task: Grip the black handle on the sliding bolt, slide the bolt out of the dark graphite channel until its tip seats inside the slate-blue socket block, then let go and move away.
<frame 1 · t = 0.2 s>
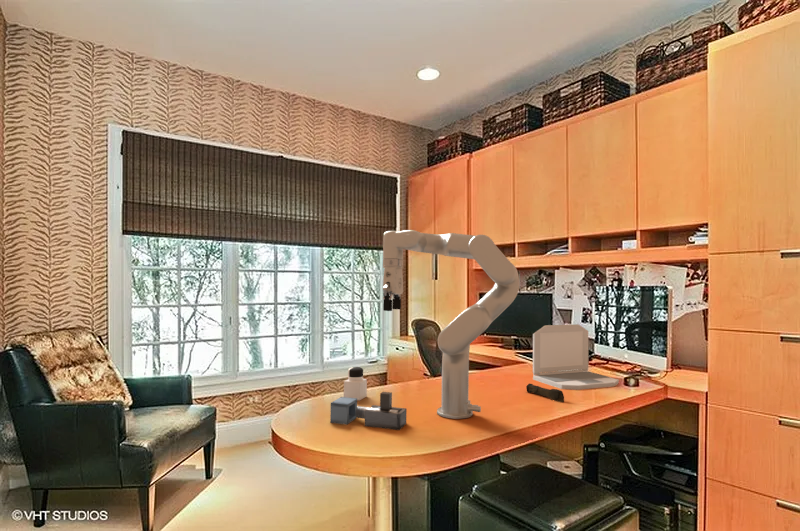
hand: (392, 310, 171), 36 cm above the table, tool pointing down, fingers open, 9 cm apart
laptop: (577, 383, 217), on the table
sliding bolt: (377, 406, 152), point 6 cm above the table, slide at 0.0 cm
sleeve: (385, 424, 151), on the table
socket block: (343, 420, 155), on the table
hand tool: (546, 398, 189), on the table
medicine bottle: (355, 398, 184), on the table
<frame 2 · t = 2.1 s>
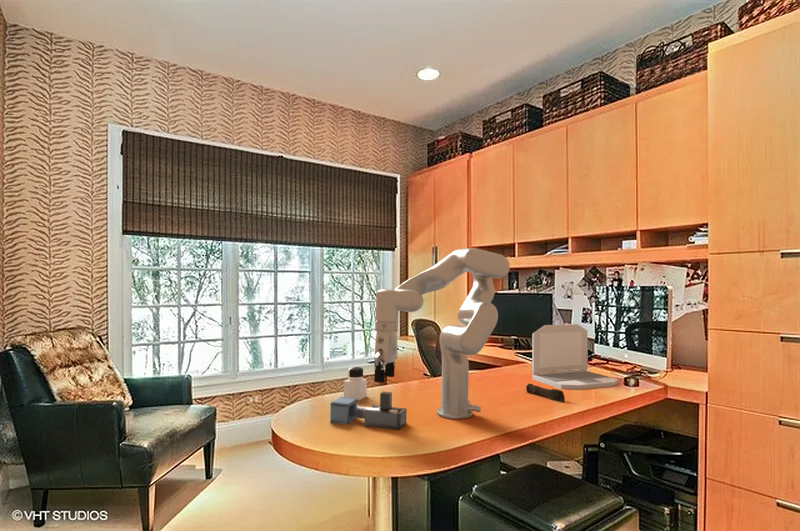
hand: (384, 379, 151), 15 cm above the table, tool pointing down, fingers open, 9 cm apart
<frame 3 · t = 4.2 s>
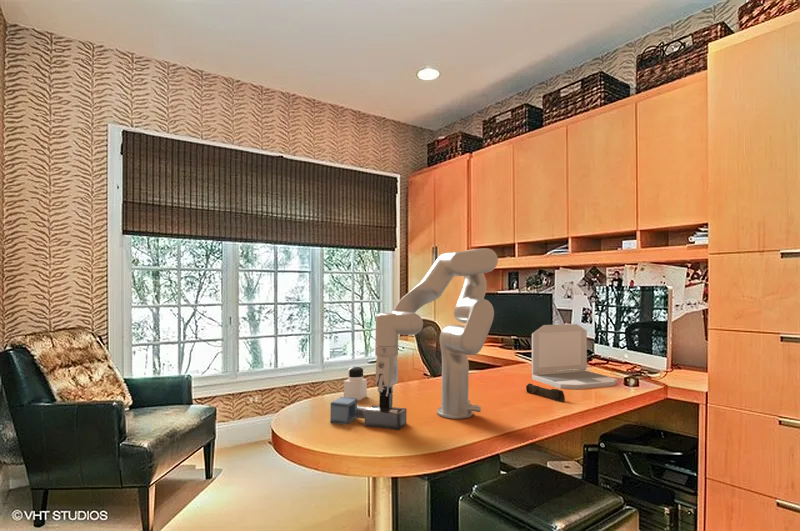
hand: (385, 406, 151), 6 cm above the table, tool pointing down, fingers closed on sliding bolt, 2 cm apart
sliding bolt: (377, 406, 152), point 6 cm above the table, slide at 0.0 cm, touching gripper
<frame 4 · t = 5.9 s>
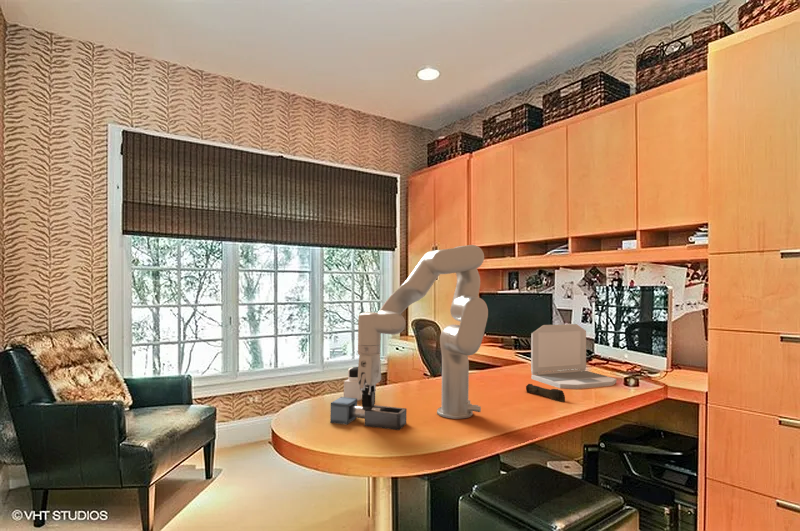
hand: (368, 404, 153), 6 cm above the table, tool pointing down, fingers closed on sliding bolt, 2 cm apart
sliding bolt: (360, 404, 154), point 6 cm above the table, slide at 6.1 cm, touching gripper
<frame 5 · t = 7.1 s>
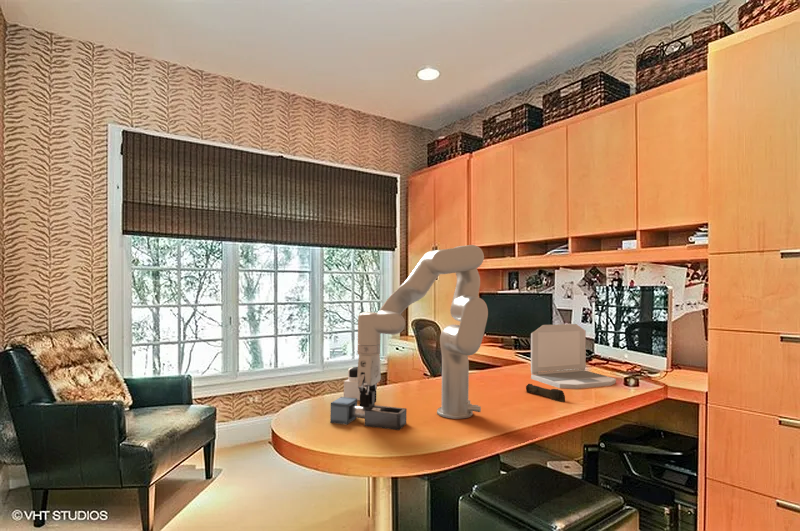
hand: (368, 403, 153), 6 cm above the table, tool pointing down, fingers open, 5 cm apart
sliding bolt: (360, 404, 153), point 6 cm above the table, slide at 6.0 cm
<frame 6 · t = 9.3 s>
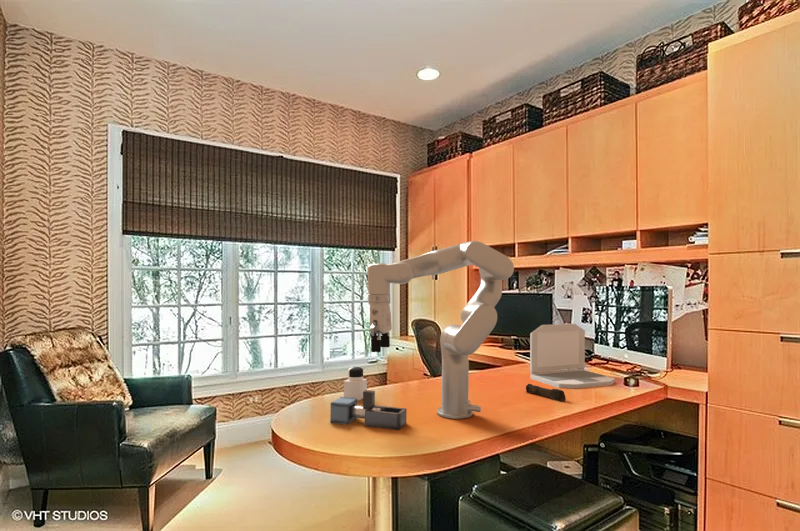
hand: (380, 349, 157), 24 cm above the table, tool pointing down, fingers open, 9 cm apart
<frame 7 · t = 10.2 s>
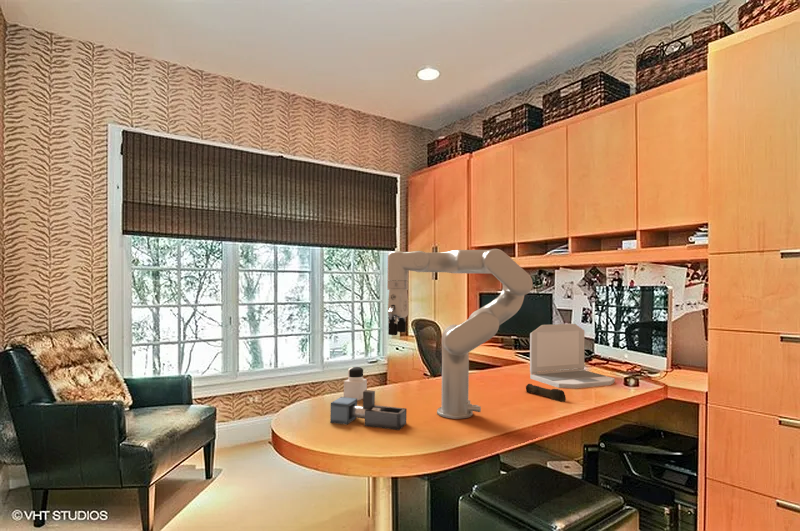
hand: (397, 333, 165), 28 cm above the table, tool pointing down, fingers open, 9 cm apart
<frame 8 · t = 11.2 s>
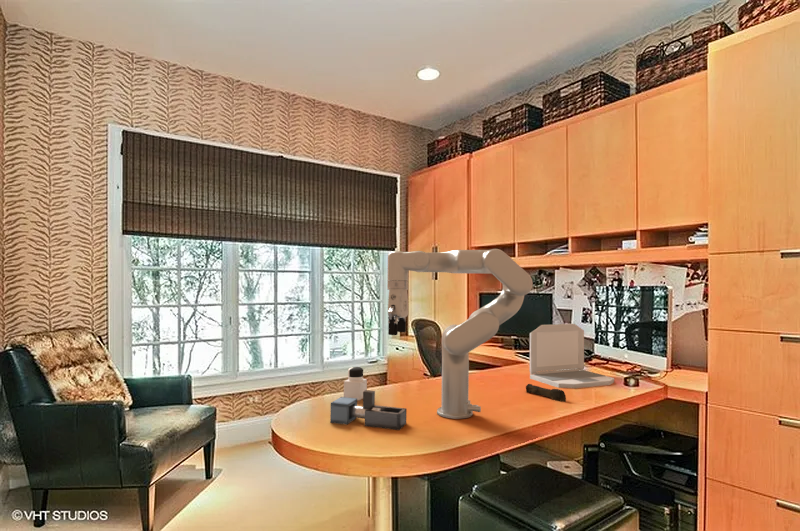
hand: (397, 333, 165), 28 cm above the table, tool pointing down, fingers open, 9 cm apart
at the end: sliding bolt slide at 6.0 cm; medicine bottle moved 0.2 cm from its start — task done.
